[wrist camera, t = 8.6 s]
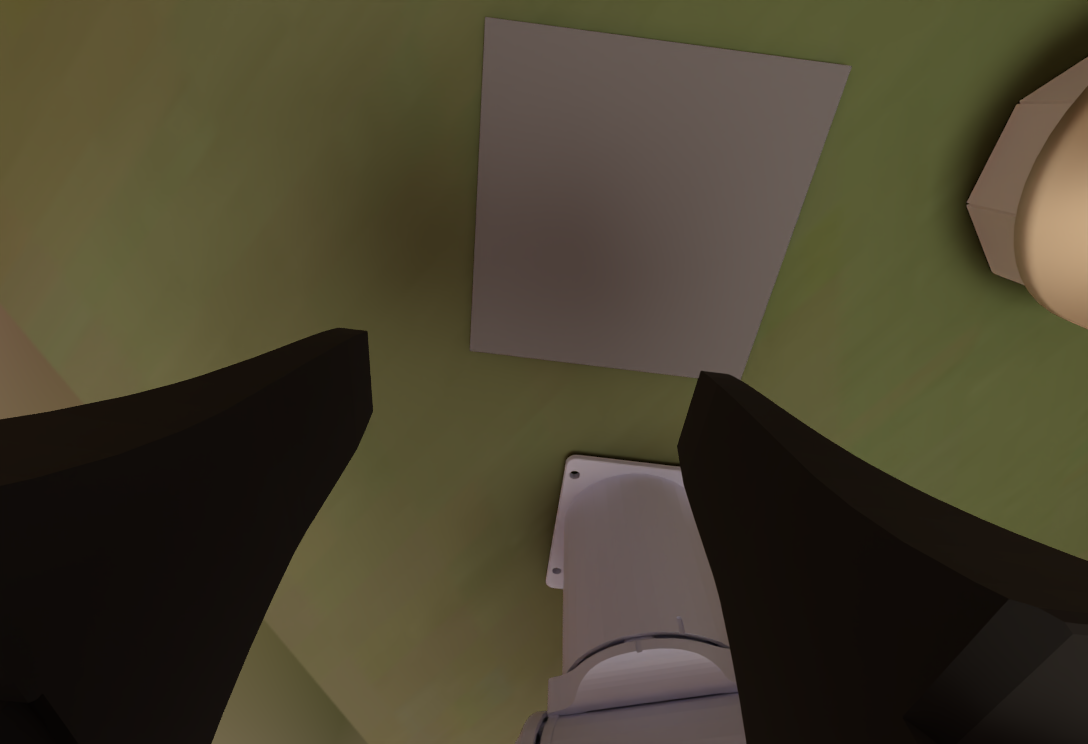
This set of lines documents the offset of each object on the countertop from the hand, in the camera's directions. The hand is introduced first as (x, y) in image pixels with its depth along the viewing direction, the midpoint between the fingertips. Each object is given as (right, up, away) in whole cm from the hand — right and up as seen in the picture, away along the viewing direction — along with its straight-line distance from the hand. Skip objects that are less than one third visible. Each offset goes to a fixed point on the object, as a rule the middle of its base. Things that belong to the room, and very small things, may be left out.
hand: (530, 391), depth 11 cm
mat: (+4, +6, +8) cm, 11 cm away
